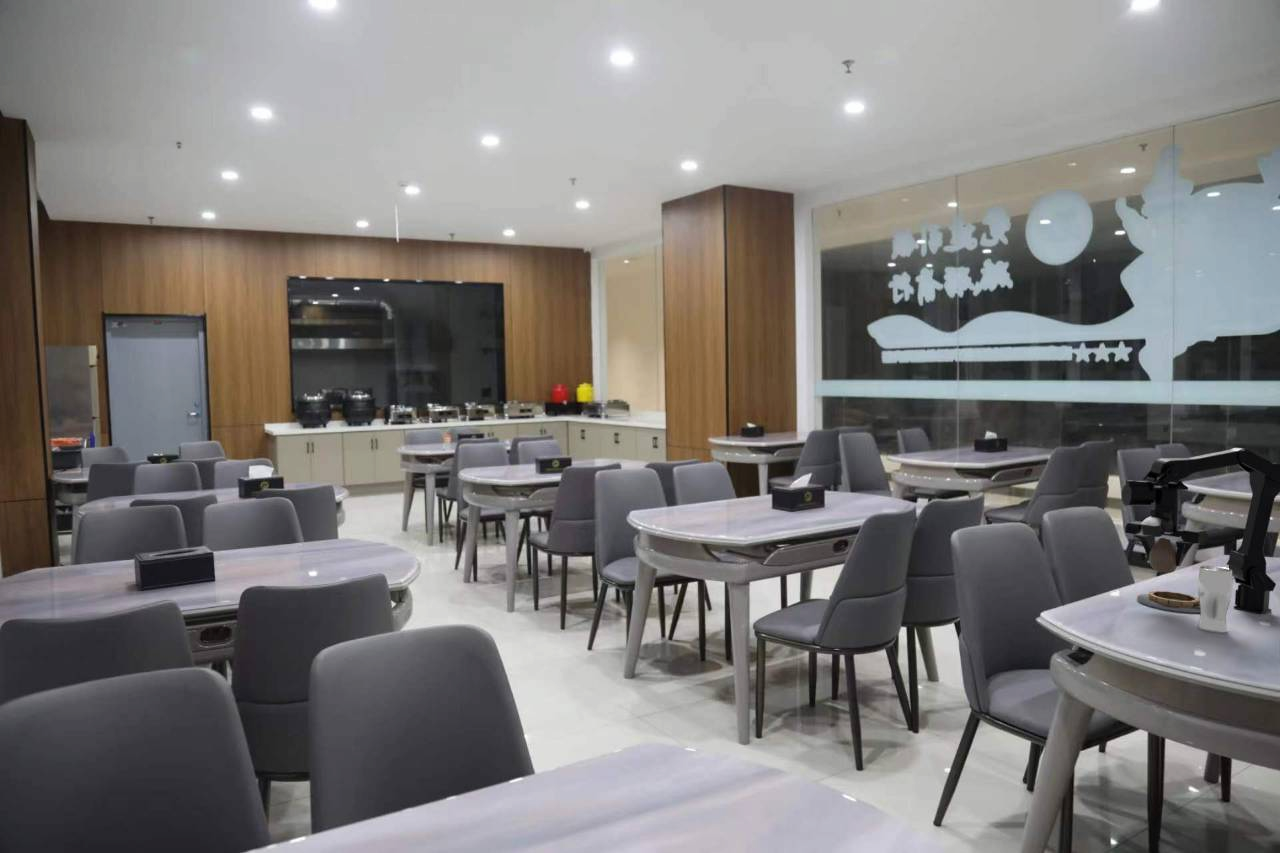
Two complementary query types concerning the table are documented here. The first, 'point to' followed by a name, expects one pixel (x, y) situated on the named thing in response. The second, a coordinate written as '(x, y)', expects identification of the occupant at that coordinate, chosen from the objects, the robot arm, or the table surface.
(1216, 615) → the beer glass
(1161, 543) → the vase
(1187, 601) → the wooden ring on tray
